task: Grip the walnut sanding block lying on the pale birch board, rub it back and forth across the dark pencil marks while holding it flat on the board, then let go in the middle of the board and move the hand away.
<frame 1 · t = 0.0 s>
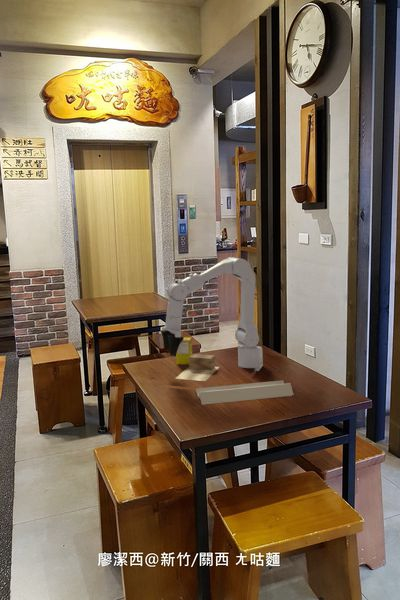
hand: (169, 352, 183), 11 cm above the table, tool pointing down, fingers open, 7 cm apart
birch board: (198, 375, 189), on the table
sanding block: (202, 368, 193), point 1 cm above the table, touching birch board
crown molding: (244, 396, 168), on the table
supplement box: (184, 364, 203), on the table
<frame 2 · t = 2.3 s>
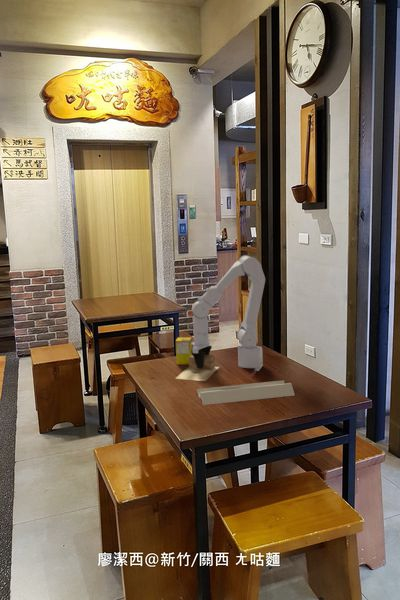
hand: (202, 366, 193), 2 cm above the table, tool pointing down, fingers closed on sanding block, 4 cm apart
sanding block: (202, 368, 193), point 1 cm above the table, touching birch board, gripper
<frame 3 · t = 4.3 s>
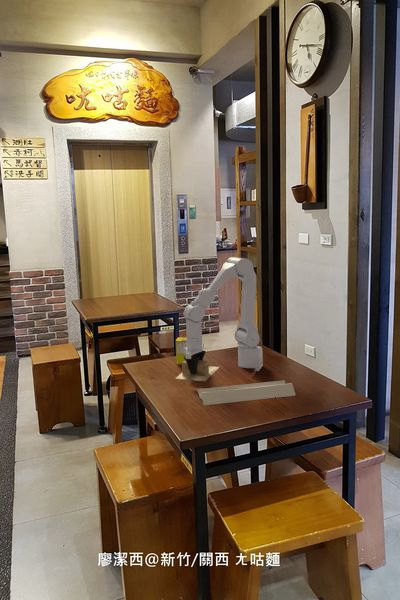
hand: (195, 371, 186), 2 cm above the table, tool pointing down, fingers closed on sanding block, 4 cm apart
sanding block: (195, 374, 186), point 1 cm above the table, touching gripper
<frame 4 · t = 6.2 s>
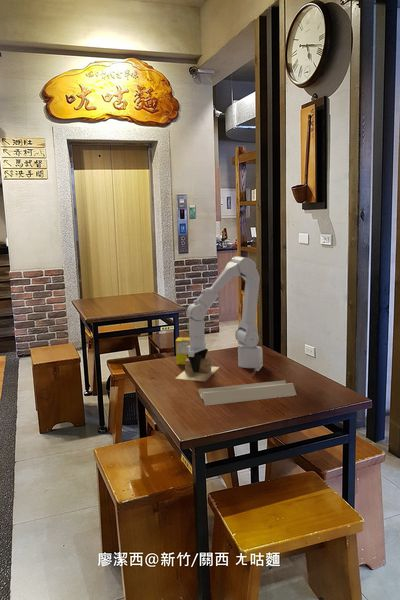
hand: (198, 369, 189), 2 cm above the table, tool pointing down, fingers closed on sanding block, 4 cm apart
sanding block: (198, 372, 189), point 1 cm above the table, touching gripper
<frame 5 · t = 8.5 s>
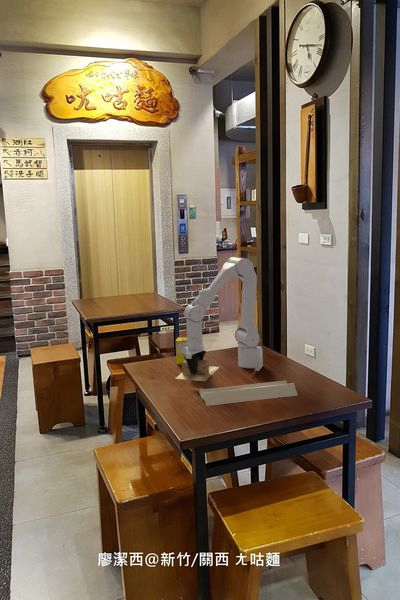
hand: (195, 371, 186), 2 cm above the table, tool pointing down, fingers closed on sanding block, 4 cm apart
sanding block: (195, 374, 187), point 1 cm above the table, touching gripper
when the fingers open (2 cm above the table, at t = 10.3 s): sanding block stays where it is, resting on birch board.
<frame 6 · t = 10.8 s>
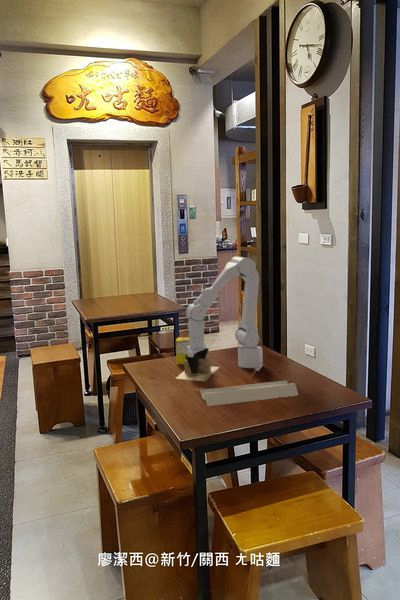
hand: (197, 370, 188), 2 cm above the table, tool pointing down, fingers open, 7 cm apart
sanding block: (197, 372, 188), point 1 cm above the table, touching birch board
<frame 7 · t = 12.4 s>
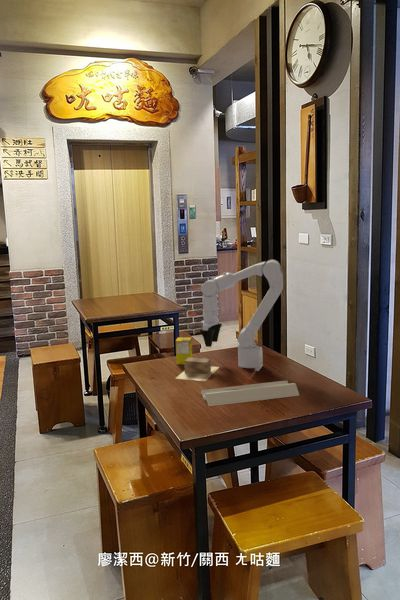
hand: (211, 343, 197), 9 cm above the table, tool pointing down, fingers open, 7 cm apart
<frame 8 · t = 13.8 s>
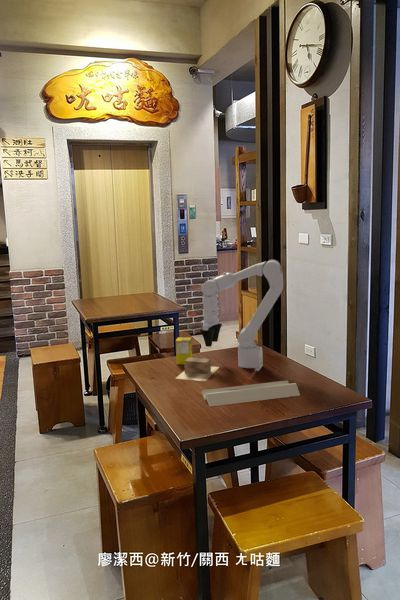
hand: (211, 343, 197), 9 cm above the table, tool pointing down, fingers open, 7 cm apart
at the end: sanding block inside the target area (0.0 cm from its centre), point 1.0 cm above the table; sanding block tilted 0°; the gripper is holding nothing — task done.
